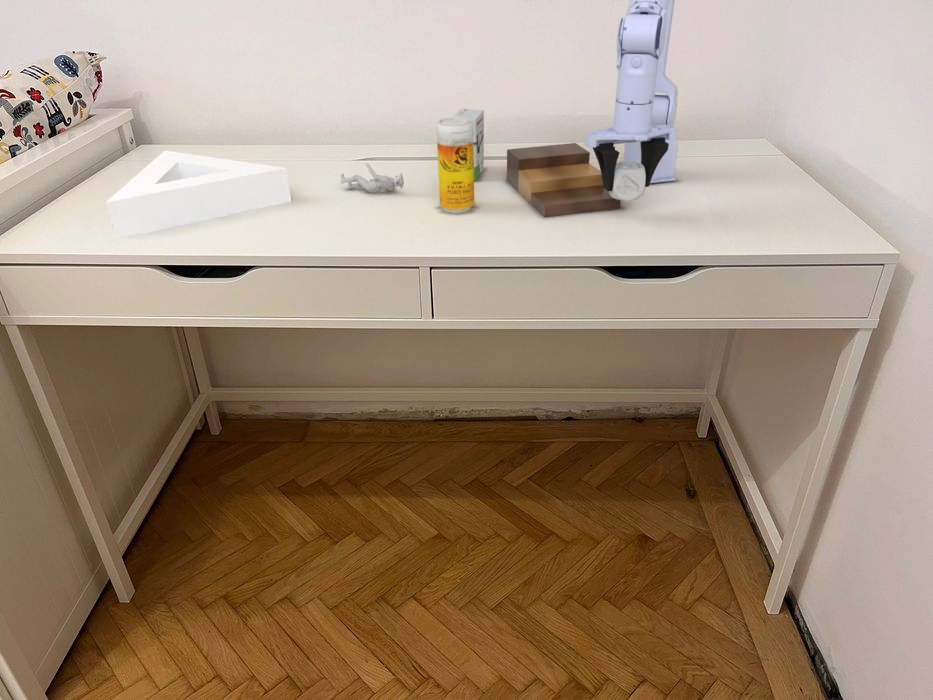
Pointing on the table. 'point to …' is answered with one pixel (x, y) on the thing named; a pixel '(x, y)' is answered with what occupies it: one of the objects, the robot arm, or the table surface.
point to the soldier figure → (373, 182)
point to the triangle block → (193, 192)
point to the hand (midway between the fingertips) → (625, 187)
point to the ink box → (476, 136)
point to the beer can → (455, 164)
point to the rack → (558, 179)
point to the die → (628, 181)
